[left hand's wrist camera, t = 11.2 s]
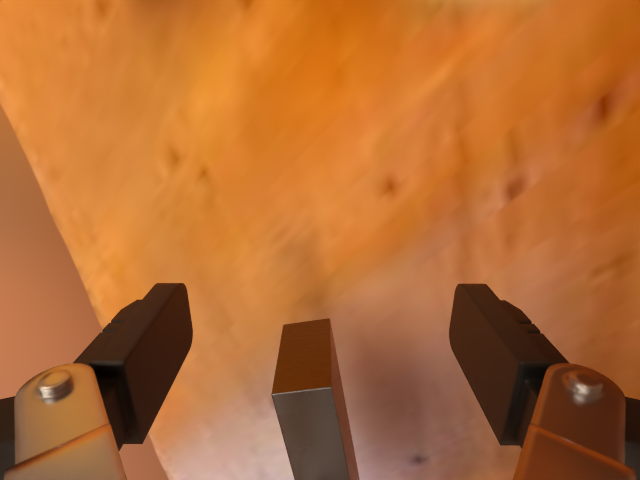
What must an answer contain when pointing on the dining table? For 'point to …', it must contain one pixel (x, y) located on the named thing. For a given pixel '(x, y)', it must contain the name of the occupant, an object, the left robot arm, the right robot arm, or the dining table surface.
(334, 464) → the bar
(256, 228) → the dining table surface
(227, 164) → the dining table surface
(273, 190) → the dining table surface
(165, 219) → the dining table surface
